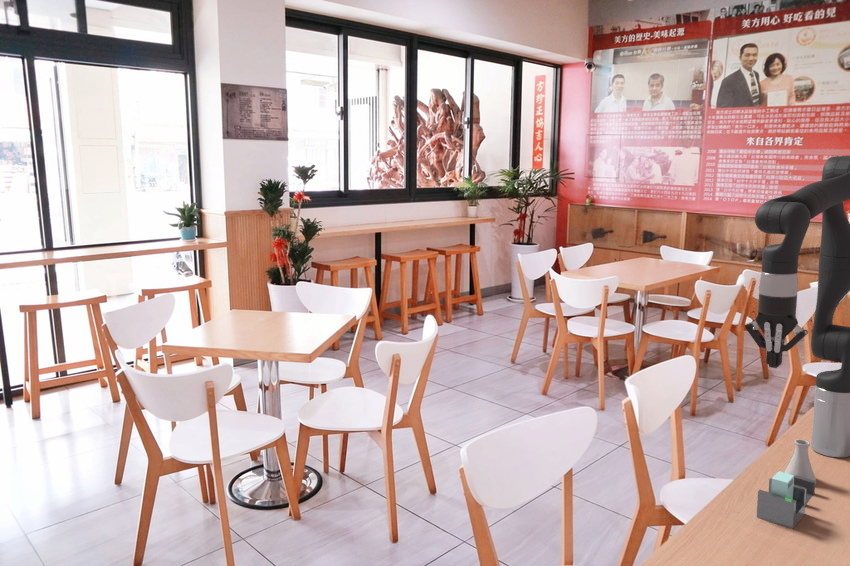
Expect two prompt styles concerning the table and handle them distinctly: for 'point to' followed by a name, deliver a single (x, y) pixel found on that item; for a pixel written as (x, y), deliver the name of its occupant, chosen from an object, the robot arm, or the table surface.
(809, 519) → the table surface
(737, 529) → the table surface
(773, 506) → the port
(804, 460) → the flask
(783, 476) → the plug
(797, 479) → the grey ridged tray
